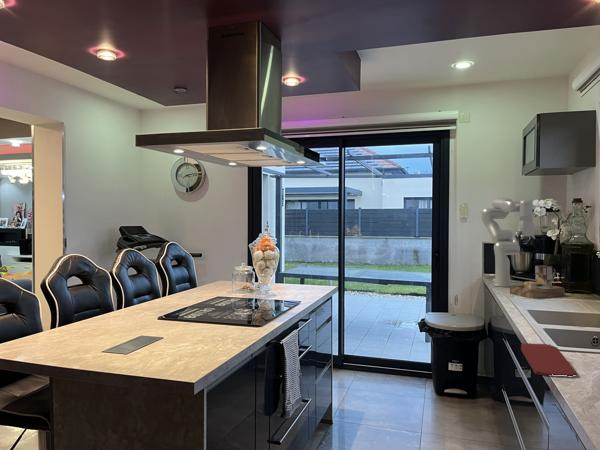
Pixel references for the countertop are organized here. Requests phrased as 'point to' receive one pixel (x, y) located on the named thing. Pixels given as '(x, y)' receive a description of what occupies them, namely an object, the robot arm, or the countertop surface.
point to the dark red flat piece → (546, 360)
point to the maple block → (530, 285)
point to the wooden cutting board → (537, 291)
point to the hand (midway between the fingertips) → (526, 245)
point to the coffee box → (544, 274)
